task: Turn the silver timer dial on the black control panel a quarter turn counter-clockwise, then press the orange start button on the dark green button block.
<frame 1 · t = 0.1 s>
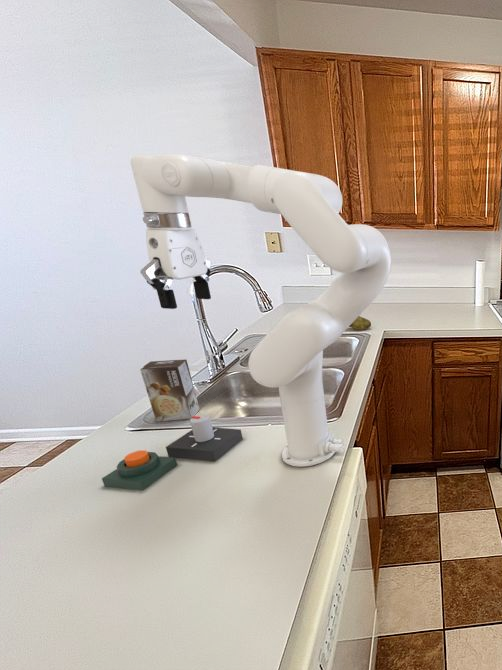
hand: (187, 303, 88), 37 cm above the table, tool pointing down, fingers open, 9 cm apart
timer panel: (207, 448, 99), on the table
timer knob: (202, 427, 97), point 6 cm above the table, hinge at 0.0°
start button: (137, 458, 87), point 4 cm above the table, slide at 0.1 cm
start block: (142, 475, 89), on the table
food box: (178, 416, 114), on the table
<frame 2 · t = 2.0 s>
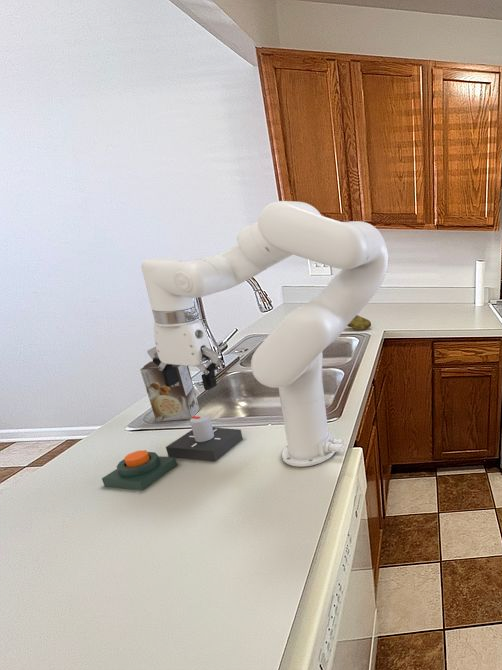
hand: (191, 386, 94), 17 cm above the table, tool pointing down, fingers open, 9 cm apart
nothing on the table moved.
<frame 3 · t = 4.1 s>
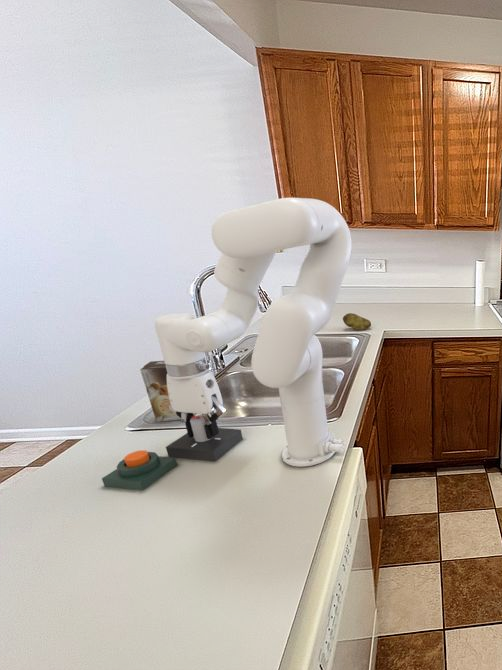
hand: (204, 434, 98), 4 cm above the table, tool pointing down, fingers closed on timer knob, 4 cm apart
timer knob: (202, 427, 97), point 6 cm above the table, hinge at 0.0°, touching gripper
everything else where it was.
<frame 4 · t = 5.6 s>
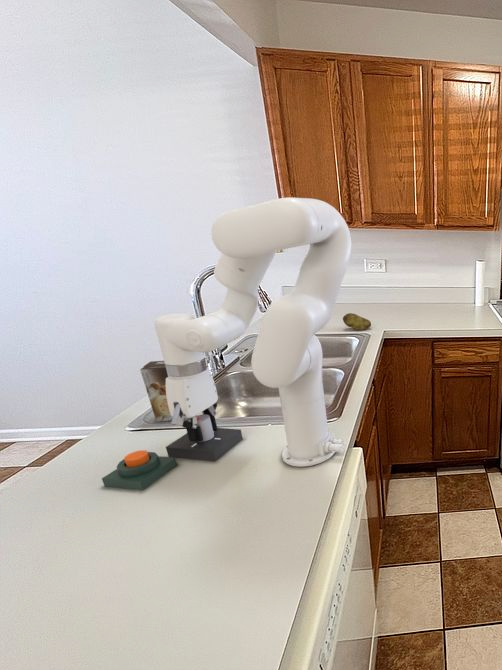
hand: (203, 434, 98), 4 cm above the table, tool pointing down, fingers closed on timer knob, 4 cm apart
timer knob: (202, 427, 97), point 6 cm above the table, hinge at 90.5°, touching gripper
everything else where it was.
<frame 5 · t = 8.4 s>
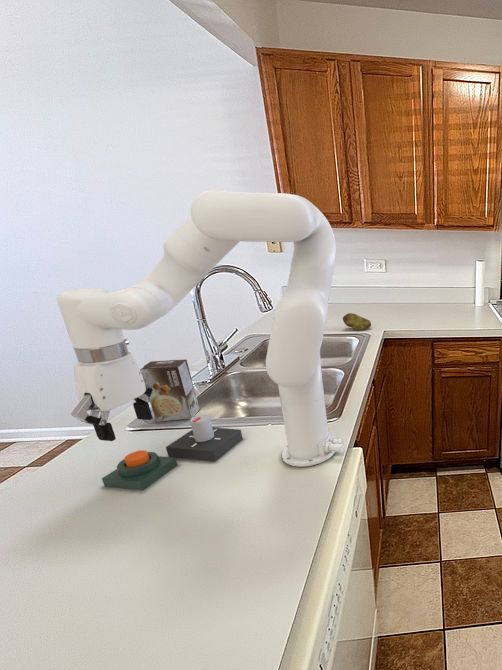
hand: (127, 428, 84), 12 cm above the table, tool pointing down, fingers open, 8 cm apart
timer knob: (202, 427, 97), point 6 cm above the table, hinge at 91.2°
everything else where it was.
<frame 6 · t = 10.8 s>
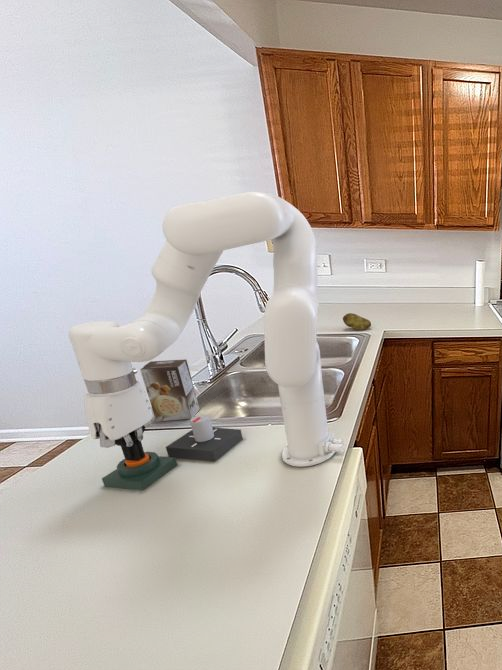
hand: (135, 458, 87), 5 cm above the table, tool pointing down, fingers closed
start button: (138, 461, 87), point 4 cm above the table, slide at -0.6 cm, touching gripper
everything else where it was.
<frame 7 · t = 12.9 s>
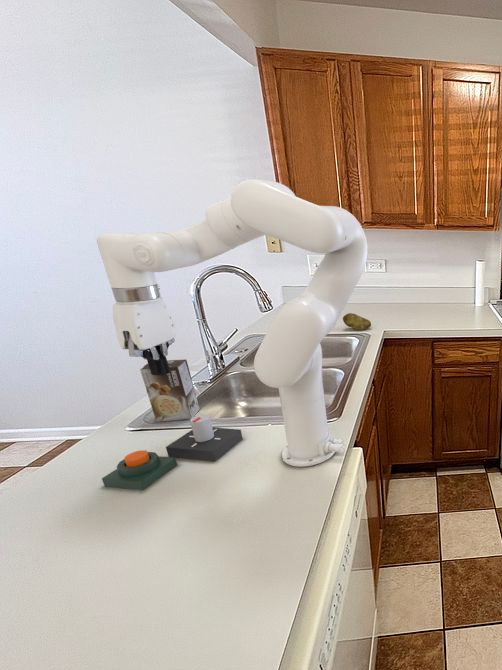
hand: (161, 373, 90), 21 cm above the table, tool pointing down, fingers closed
start button: (137, 458, 87), point 4 cm above the table, slide at 0.1 cm
everything else where it was.
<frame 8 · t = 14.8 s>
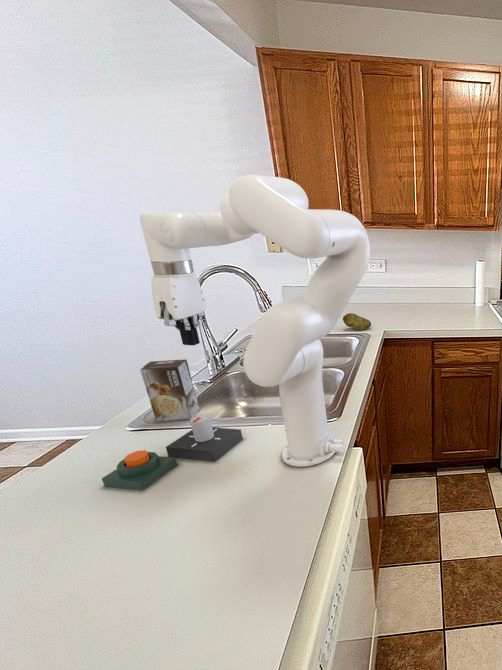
hand: (191, 344, 97), 25 cm above the table, tool pointing down, fingers closed
nothing on the table moved.
at the end: timer knob at +91° (first picture: +0°); start button pushed in 1.1 cm at the most during the clip, back to where it started at the end; start button slide at 0.1 cm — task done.
